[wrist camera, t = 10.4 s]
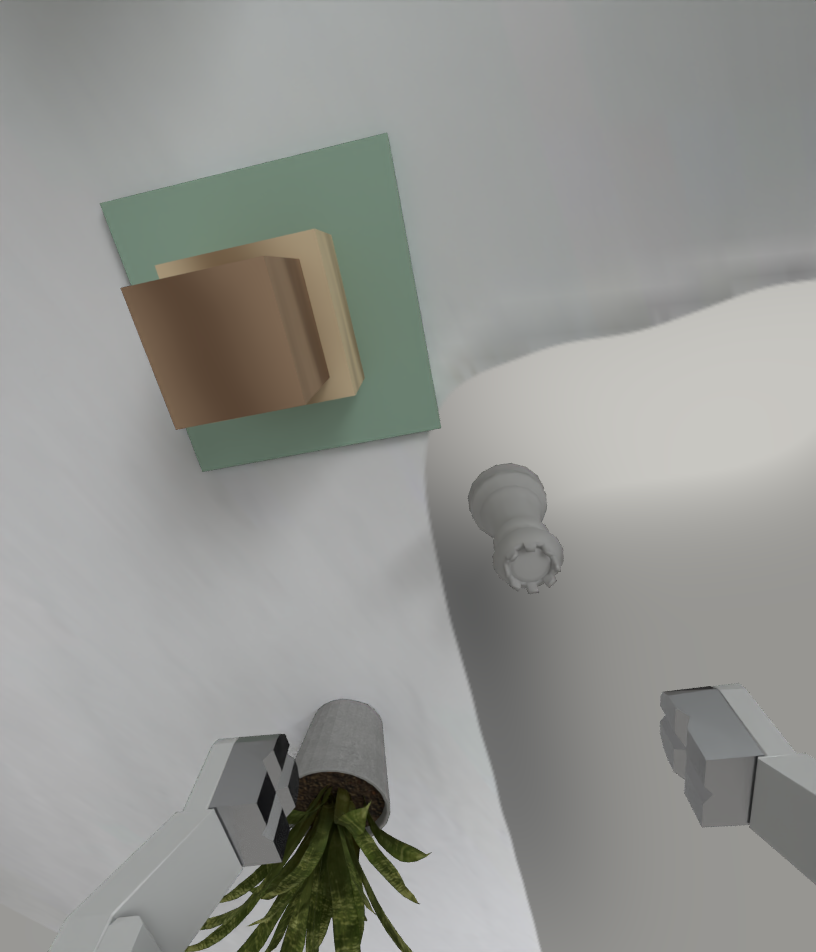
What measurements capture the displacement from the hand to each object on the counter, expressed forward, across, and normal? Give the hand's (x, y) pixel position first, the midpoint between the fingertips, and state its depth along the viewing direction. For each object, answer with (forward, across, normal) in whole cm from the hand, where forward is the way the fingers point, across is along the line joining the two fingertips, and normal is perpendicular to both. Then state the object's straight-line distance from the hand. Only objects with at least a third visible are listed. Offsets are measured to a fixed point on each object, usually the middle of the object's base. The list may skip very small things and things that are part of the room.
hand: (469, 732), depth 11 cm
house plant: (+19, +11, +20) cm, 30 cm away
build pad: (+19, +7, -8) cm, 22 cm away
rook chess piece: (+19, -3, +4) cm, 20 cm away
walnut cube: (+14, +7, -8) cm, 18 cm away
